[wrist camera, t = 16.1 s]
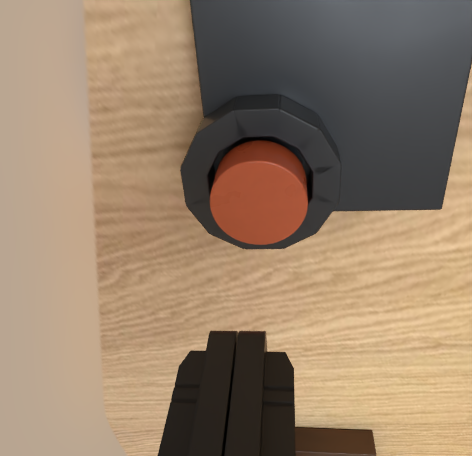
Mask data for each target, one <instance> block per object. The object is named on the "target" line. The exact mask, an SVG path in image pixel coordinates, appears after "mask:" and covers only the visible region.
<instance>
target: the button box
mask: <svg viewBox="0 0 472 456" xmlns="http://www.w3.org/2000/svg"><path fill="white" fill-rule="evenodd" d="M190 6H191V14H192V23H193V31H194V40H195V48H196V57H197V65H198V74H199V82H200V90H201V99H202V107H203V116H204V118H203V119H202V121H201V123H200V125H199V127H198V130H197V132H196V134H195V136H194V138H193V141H192V143H191V145H190V147H189V149H188V152H187V154H186V156H185V158H184V161H183V163H182V165H181V170H180V171H181V177H182V183H183V190H184V196H185V202H186V206H187V207H188V209H189V210H190V211H191V212H192V213H193V215H194V216H195V217H196V218H197V219H198V221H199V222H200V223H201V224H202V226H203V227H204V228H205V229H206V230H207V232H208V233H209V234H211V235H213V236H215V237H218V238H220V239H222V240H224V241H227V242H229V243H231V244H233V245H236V246H238V247H240V248H242V249H244V248H245V249H282V248H283V249H284V248H286V247H288V246H291V245H293V244H295V243H297V242H299V241H301V240H303V239H305V238H307V237H310V236H312V235H314V234H316V233H317V232H318V231H319V229H320V228H321V226H322V225H323V224H324V222H325V221H326V220H327V218H328V217H329V216H330V214H331V213H332V211H381V210H440V209H442V205H443V200H444V195H445V190H446V185H447V180H448V176H449V171H450V166H451V161H452V156H453V151H454V146H455V141H456V137H457V132H458V127H459V122H460V117H461V112H462V107H463V103H464V98H465V93H466V88H467V83H468V78H469V73H470V68H471V64H472V0H190ZM257 140H262V141H271V142H274V143H277V144H280V145H282V146H284V147H286V148H287V149H289V150H290V151H291V152H293V153H294V154H295V155H296V156H297V158H298V159H299V160H300V162H301V164H302V165H303V168H304V171H305V175H306V184H307V197H308V209H307V213H306V216H305V219H304V221H303V222H302V224H301V225H300V227H299V228H298V229H297V230H296V231H295V232H294V233H293V234H292V235H290V236H289V237H287V238H285V239H284V240H281V241H279V242H276V243H272V244H266V245H254V244H248V243H244V242H241V241H239V240H236V239H234V238H232V237H231V236H229V235H228V234H226V233H225V232H224V231H223V230H222V229H221V228H220V227H219V226H218V224H217V223H216V221H215V219H214V217H213V215H212V212H211V208H210V193H211V189H212V186H213V182H214V179H215V175H216V172H217V168H218V166H219V164H220V162H221V160H222V159H223V157H224V156H225V155H226V154H227V153H228V152H229V151H230V150H232V149H233V148H235V147H236V146H238V145H240V144H243V143H246V142H250V141H257Z"/></svg>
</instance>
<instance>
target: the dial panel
mask: <svg viewBox="0 0 472 456" xmlns="http://www.w3.org/2000/svg"><path fill="white" fill-rule="evenodd" d="M295 450H296V456H376V450H375V444H374V438H373V432H372V431H369V430H344V429H320V428H295Z"/></svg>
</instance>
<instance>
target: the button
mask: <svg viewBox="0 0 472 456" xmlns="http://www.w3.org/2000/svg"><path fill="white" fill-rule="evenodd" d="M210 208H211V212H212V215H213V217H214V219H215V221H216V223H217V224H218V226H219V227H220V228H221V229H222V230H223V231H224V232H225V233H226V234H228V235H229V236H231V237H232V238H234V239H236V240H239V241H241V242H244V243H248V244H254V245H266V244H272V243H276V242H279V241H281V240H284V239H285V238H287V237H289V236H290V235H292V234H293V233H294V232H295V231H296V230H297V229H298V228H299V227H300V225H301V224H302V222H303V221H304V219H305V216H306V213H307V209H308V197H307V184H306V175H305V171H304V168H303V165H302V164H301V162H300V160H299V159H298V158H297V156H296V155H295V154H294V153H293V152H291V151H290V150H289V149H287V148H286V147H284V146H282V145H280V144H277V143H274V142H271V141H262V140H257V141H250V142H246V143H243V144H240V145H238V146H236V147H235V148H233V149H232V150H230V151H229V152H228V153H227V154H226V155H225V156H224V157H223V159H222V160H221V162H220V164H219V166H218V168H217V172H216V175H215V179H214V182H213V186H212V189H211V193H210Z"/></svg>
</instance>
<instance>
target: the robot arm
mask: <svg viewBox="0 0 472 456" xmlns="http://www.w3.org/2000/svg"><path fill="white" fill-rule="evenodd" d="M171 399H172V401H171V403H170V407H169V411H168V415H167V419H166V424H165V428H164V432H163V436H162V440H161V444H160V449H159V453H158V456H296V450H295V406H294V368H293V366H292V364H291V362H290V360H289V358H288V356H287V354H286V353H285V352H267V340H266V331H239V333H238V332H237V331H210V333H209V338H208V343H207V348H206V351H190V352H189V354H188V355H187V356H186V358H185V359H184V360H183V362H182V363H181V364H180V366H179V369H178V373H177V378H176V382H175V388H174V390H173V394H172V398H171Z"/></svg>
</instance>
